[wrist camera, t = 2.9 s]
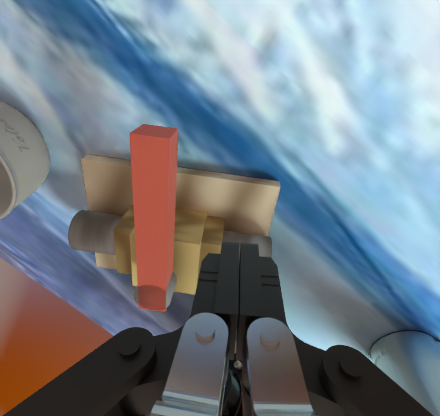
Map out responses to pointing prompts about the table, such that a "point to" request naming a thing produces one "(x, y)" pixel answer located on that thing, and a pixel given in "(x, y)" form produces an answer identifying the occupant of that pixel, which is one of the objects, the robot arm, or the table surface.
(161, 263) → the lever
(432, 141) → the table surface
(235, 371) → the ball valve
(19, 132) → the teacup
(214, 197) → the valve fixture
